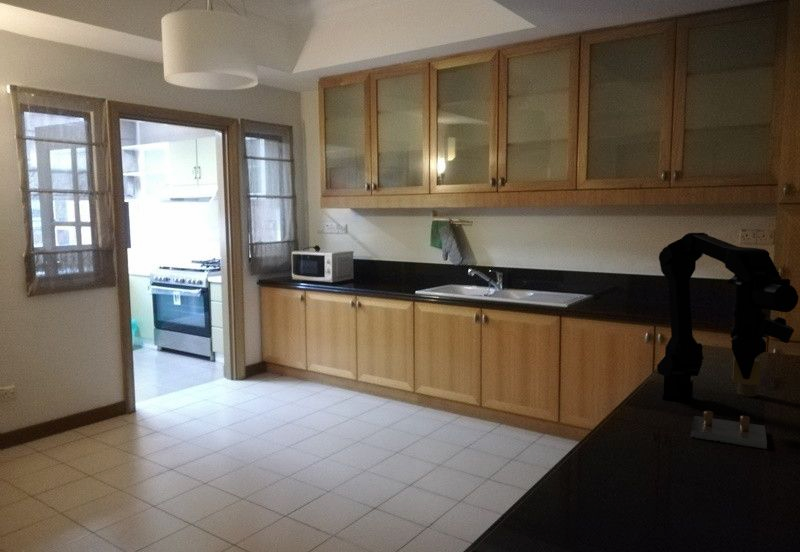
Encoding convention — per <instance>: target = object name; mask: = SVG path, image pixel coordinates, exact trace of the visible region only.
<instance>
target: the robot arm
mask: <svg viewBox="0 0 800 552" xmlns="http://www.w3.org/2000/svg"><path fill="white" fill-rule="evenodd" d="M704 255H705V256H708V257H710V258H712V259H715V260H717V261H719V262H722V263H723V264H724V267H725V268H726V269H727V270H728V271H729V272H731V273H732V274H733V275H734V276H732V277H731V278H729V280H727V284H729V285H733V286H734V291H733V294H734V295H733V308H732V310H733V311H732V313H733V314H732V316H733V317H732V327H731V328H730V338H731V340H730V343H731V351H732V353H733V357H734V356H735V358H736V361H737V363H738V366H739V368H740V371H741V374H742V376H743V378H744V379H749V378H750V374H751V371H752V368H753V364H754V361H755V358H756V357H757V356H758V357H759V356H760V355H761V354H763V353H767V340H765V339H764V338H766V336H769V337H771V338H774V339H776V340H779V341H780V342H782V343H785V344H789V341H790V340H791V338H792V336H793V334H794V333H795V329H794V327H792V326H791V325H787V320H786V319H785V318H784V317H780V316H777V317H776V318H774V319H771V318H767V315H766V313H765V311H764V310H768V311H774V312H780V313H790V312H791V311H793V310H794V309H795V308H796V307H797V305H798V303H799V294H798V291H797V290H796V288H795V287H794V286H792V285H791V279H790V278H782V276H781V275H780V272H779V271H778V269H777V267H776V265H775V263H774V261H773V259H772V257H771V256H770V252H769V251H768V250H766V249H763V248H759V247H758V248H756V247H747V246H746V247H745V246H738V245H735V244H732V243H730V242H726V241H724V240H721V239H720V238H716V237H715V236H712V235H709V234H708V233H706V232H688V233H686V234H685V235H684V236H682V237H681V238H679V239H677V240H675V241H673V242H671V243H669V244H668V245H666V246H665V247H664V248H662V250H661V251H660V252H659V254H658V260H659V265H660V267H659V268H660V271H661V273H662V274H663V276H664V277H665V279H666V281H667V283H668V298H669V299H668V300H669V316H670V318H669V319H670V332H671V333H670V334H671V337H670V338H669V340H668V342H667V344H666V346H665V347H664V348H665V352H664V356H663V358H662V359H661V360H660V361H659V362H658V363H657V364H656V369H657V373H658V375H661V376H663V394H662V397H661V399H663V400H668V401H677V402H684V403H690V402H691V400H692V399H693V396H694V383H695V382H694V380H692V377H698V376H699V372H700V371H701V368H702V366H703V361H704V358H705V357H704V354H703V345H702V343H701V342H700V343H699V342H698V341H697V340H696V339H695V338H694V335H693V318H692V304H691V303H692V299H691V287H690V283H691V282H690V280H691V279H692V276H693V274H694V272H695V271H696V268H697V267H696V264H697V261H699V260H700V259H701V258H702V257H703V256H704Z"/></svg>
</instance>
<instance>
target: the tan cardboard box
mask: <svg viewBox="0 0 800 552" xmlns="http://www.w3.org/2000/svg"><path fill="white" fill-rule="evenodd" d="M732 358H733V362H732V363H733V364H732V365H733V366H732V382H733V383H737V384H738V383H748V384H756V385H759V386H760V383H761V381H760V379H761V359H760V357H759V356H758V357H756V358H755V361H754V364H753V368H752V371H751V374H750V378H749V379H744V378H743V376H742V374H741V371H740V368H739V366H738V363H737V361H736V358H735V356H734V355H733V357H732Z"/></svg>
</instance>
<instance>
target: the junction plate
mask: <svg viewBox="0 0 800 552" xmlns="http://www.w3.org/2000/svg"><path fill="white" fill-rule="evenodd" d="M713 416H714V412H713V411H712V410H704V411H703V416H698V415H694V416H693V419H692V424H691V429H690V438H692V437H695V438H694V439H698V438H699V439H700V440H704V439H705V441H711V440H713V442H717V441H720V443H724V442H725V444H730V443H732V444H731V445H738V446H745V447H750V448H758V449H764V450H767V449H768V440H767V433H766V426H765V425H763V424H762V425H761V424H756V423H755V424H754V423H750V420H751V417H750V416H748V415H739V421H735V420H727V419H720V418H719V419H718V418H714V417H713Z"/></svg>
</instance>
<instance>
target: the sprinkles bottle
mask: <svg viewBox="0 0 800 552" xmlns="http://www.w3.org/2000/svg"><path fill="white" fill-rule="evenodd" d="M757 357H759V355H758V356H757ZM736 393H737V394H738V395H740V396H742V397H748V398H749V397H756V396H757V384H748V383H738V382H737V390H736Z"/></svg>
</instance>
